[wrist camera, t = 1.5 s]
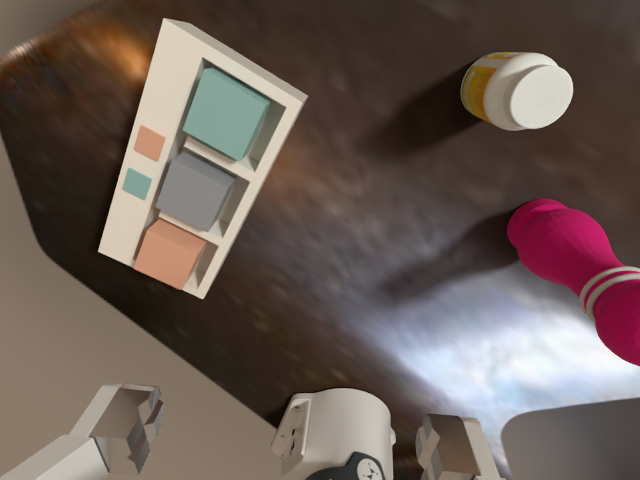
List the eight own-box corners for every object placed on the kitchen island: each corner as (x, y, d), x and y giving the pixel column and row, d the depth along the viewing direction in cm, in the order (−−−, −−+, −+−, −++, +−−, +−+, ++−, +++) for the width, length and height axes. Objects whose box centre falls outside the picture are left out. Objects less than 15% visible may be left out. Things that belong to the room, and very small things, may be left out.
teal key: (248, 152, 32) (240, 161, 29) (196, 123, 31) (182, 130, 28) (272, 100, 30) (265, 105, 27) (216, 67, 29) (204, 68, 26)
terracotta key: (192, 274, 39) (181, 290, 36) (147, 253, 38) (133, 268, 35) (208, 239, 37) (197, 254, 34) (161, 217, 36) (147, 229, 33)
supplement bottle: (502, 38, 30) (566, 32, 21) (530, 89, 31) (599, 103, 23) (447, 82, 32) (485, 93, 23) (476, 128, 33) (521, 154, 25)
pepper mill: (488, 242, 39) (608, 396, 21) (526, 184, 36) (705, 311, 18) (545, 260, 40) (705, 424, 22) (587, 205, 36) (815, 348, 19)
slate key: (217, 219, 36) (207, 232, 33) (169, 195, 35) (155, 207, 32) (236, 177, 33) (227, 188, 31) (186, 150, 32) (172, 158, 30)
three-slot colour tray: (217, 274, 43) (202, 300, 39) (124, 230, 41) (96, 252, 36) (308, 96, 33) (302, 102, 28) (189, 23, 30) (162, 17, 26)
